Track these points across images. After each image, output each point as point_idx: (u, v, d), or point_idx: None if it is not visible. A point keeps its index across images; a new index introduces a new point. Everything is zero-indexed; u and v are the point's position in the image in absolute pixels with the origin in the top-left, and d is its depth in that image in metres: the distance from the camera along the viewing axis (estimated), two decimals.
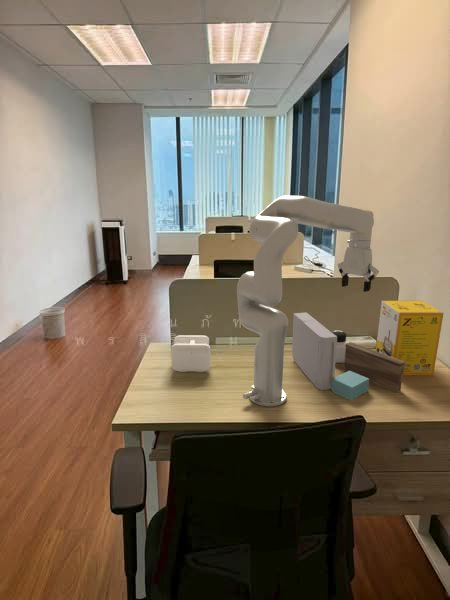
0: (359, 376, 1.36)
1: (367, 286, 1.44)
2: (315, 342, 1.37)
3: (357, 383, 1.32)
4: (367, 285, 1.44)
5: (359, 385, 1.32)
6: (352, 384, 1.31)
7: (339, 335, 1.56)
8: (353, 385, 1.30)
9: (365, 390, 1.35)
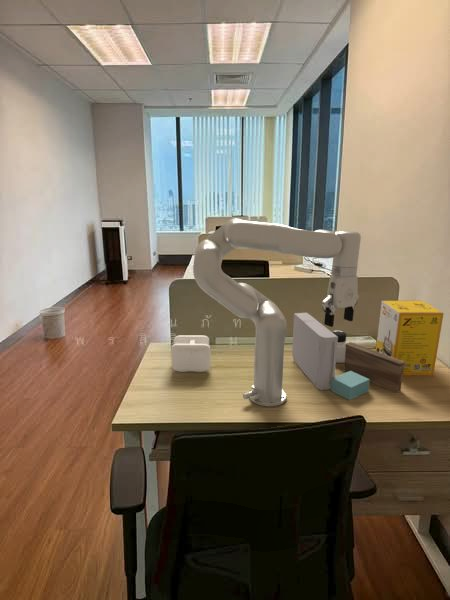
0: (360, 376, 1.36)
1: None
2: (315, 342, 1.37)
3: (357, 383, 1.31)
4: None
5: (358, 385, 1.31)
6: (351, 384, 1.31)
7: (339, 335, 1.56)
8: (352, 385, 1.30)
9: (365, 391, 1.35)
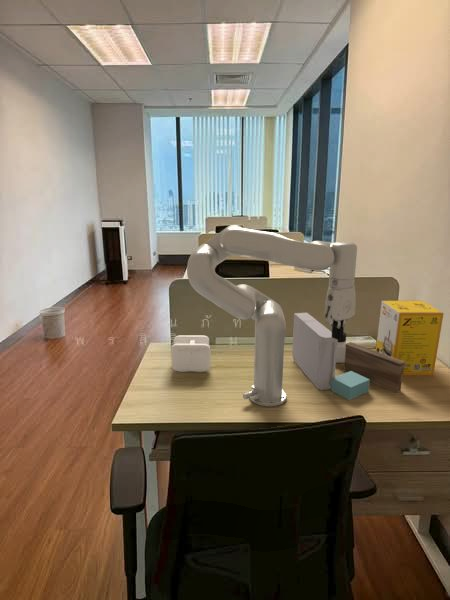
0: (360, 376, 1.36)
1: None
2: (315, 342, 1.37)
3: (356, 383, 1.31)
4: None
5: (358, 386, 1.31)
6: (351, 384, 1.31)
7: None
8: (352, 385, 1.30)
9: (365, 391, 1.35)
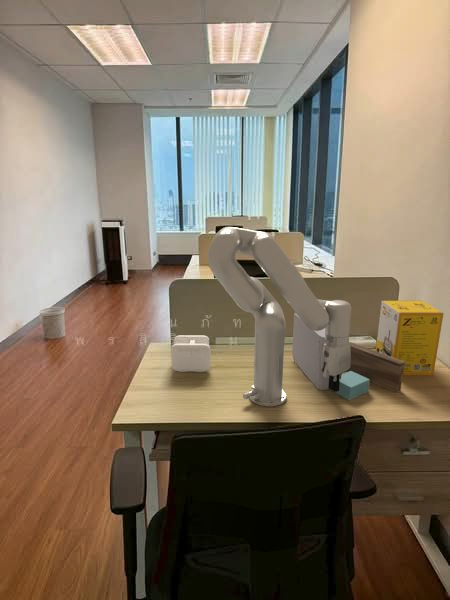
0: (360, 376, 1.36)
1: None
2: (315, 342, 1.37)
3: (356, 383, 1.31)
4: None
5: (358, 386, 1.31)
6: (351, 384, 1.31)
7: None
8: (352, 385, 1.30)
9: (365, 391, 1.35)
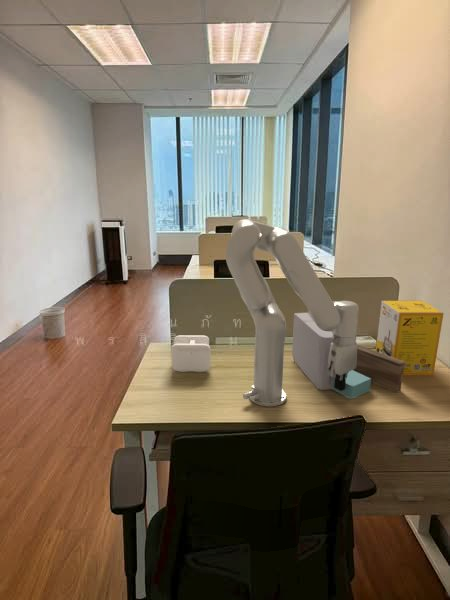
0: (361, 376, 1.37)
1: None
2: (315, 342, 1.37)
3: (358, 382, 1.32)
4: None
5: (360, 385, 1.32)
6: (353, 384, 1.31)
7: None
8: (354, 384, 1.31)
9: (367, 390, 1.35)
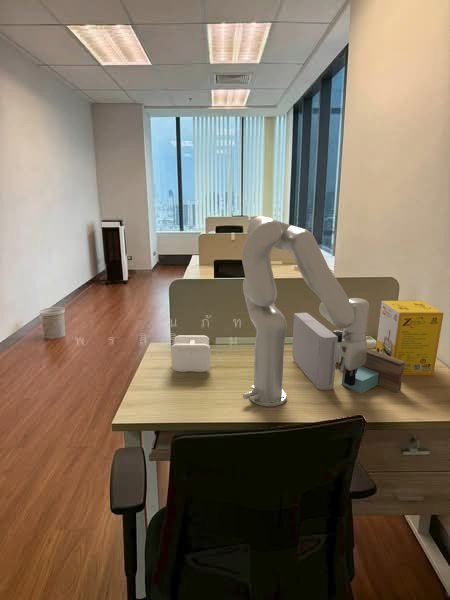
0: (369, 370, 1.41)
1: None
2: (315, 342, 1.37)
3: (367, 377, 1.36)
4: None
5: (369, 379, 1.36)
6: (362, 378, 1.35)
7: (339, 335, 1.56)
8: (363, 379, 1.34)
9: (375, 384, 1.39)
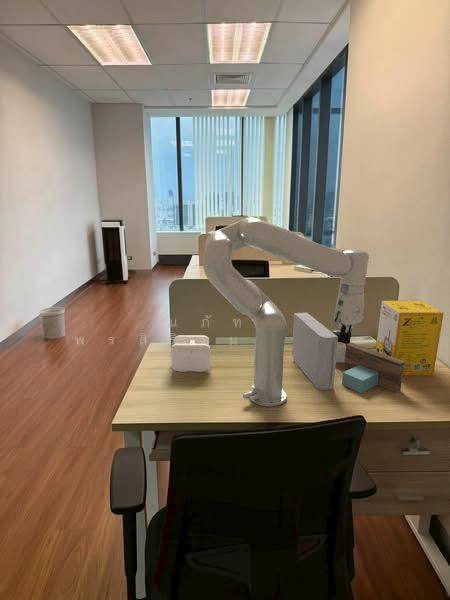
0: (369, 370, 1.41)
1: None
2: (315, 342, 1.37)
3: (367, 376, 1.36)
4: None
5: (369, 379, 1.36)
6: (362, 378, 1.35)
7: (339, 335, 1.56)
8: (363, 378, 1.35)
9: (375, 384, 1.39)
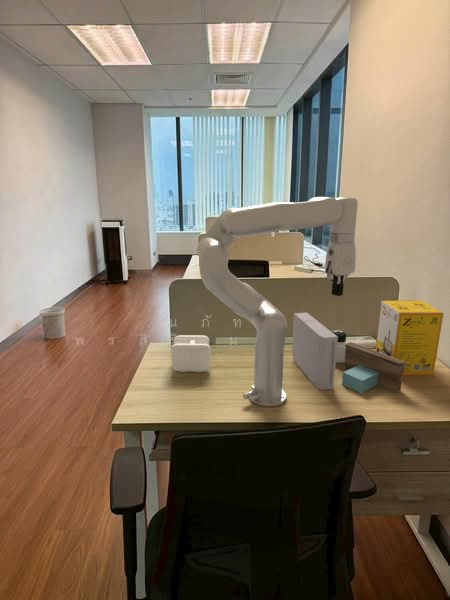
0: (369, 370, 1.41)
1: None
2: (315, 342, 1.37)
3: (367, 377, 1.36)
4: None
5: (369, 379, 1.36)
6: (362, 378, 1.35)
7: (339, 335, 1.56)
8: (363, 378, 1.35)
9: (375, 384, 1.39)
